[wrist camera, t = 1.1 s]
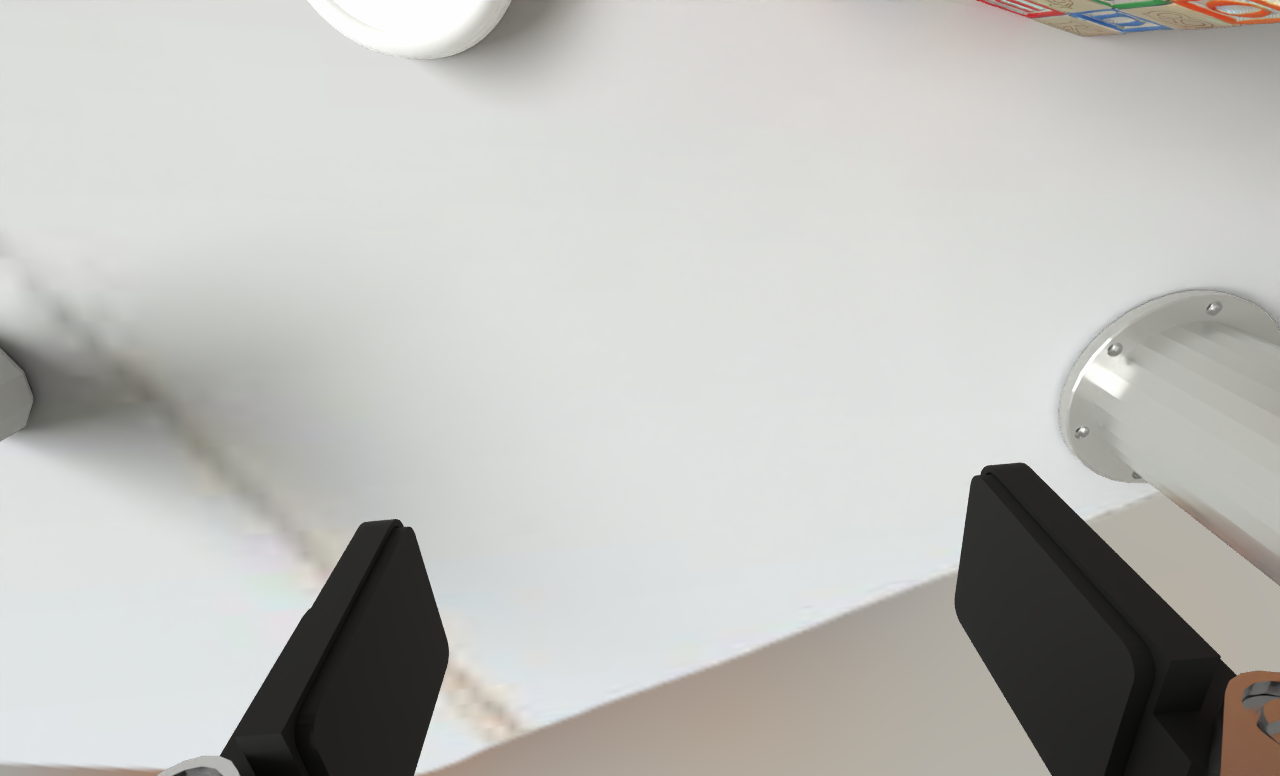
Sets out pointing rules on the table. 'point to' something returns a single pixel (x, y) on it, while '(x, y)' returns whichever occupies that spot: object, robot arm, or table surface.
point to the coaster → (414, 24)
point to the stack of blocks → (1142, 14)
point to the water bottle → (13, 397)
